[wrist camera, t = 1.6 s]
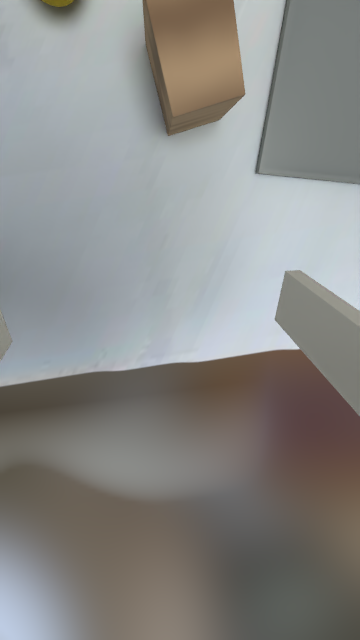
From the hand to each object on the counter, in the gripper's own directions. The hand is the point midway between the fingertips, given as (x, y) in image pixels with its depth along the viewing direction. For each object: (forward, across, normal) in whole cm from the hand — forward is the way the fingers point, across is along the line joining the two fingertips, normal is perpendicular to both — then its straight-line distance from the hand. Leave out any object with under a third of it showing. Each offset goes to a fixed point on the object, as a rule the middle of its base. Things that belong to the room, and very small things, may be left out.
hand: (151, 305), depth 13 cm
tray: (+24, +24, +12) cm, 36 cm away
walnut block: (+26, +6, +12) cm, 29 cm away
